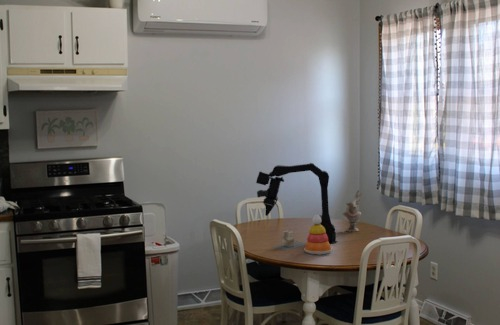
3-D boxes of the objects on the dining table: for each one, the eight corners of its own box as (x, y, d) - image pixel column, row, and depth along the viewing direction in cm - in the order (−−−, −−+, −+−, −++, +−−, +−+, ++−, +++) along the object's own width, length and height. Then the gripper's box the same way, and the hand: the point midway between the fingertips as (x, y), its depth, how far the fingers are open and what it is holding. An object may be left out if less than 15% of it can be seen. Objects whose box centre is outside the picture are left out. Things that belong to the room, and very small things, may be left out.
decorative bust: (354, 232, 324) (354, 190, 326) (340, 231, 335) (340, 190, 337) (368, 232, 330) (367, 190, 332) (354, 231, 341) (353, 190, 343)
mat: (310, 244, 300) (310, 244, 300) (285, 250, 286) (285, 250, 286) (296, 241, 307) (296, 241, 307) (271, 247, 294) (271, 247, 294)
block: (293, 246, 294) (293, 231, 294) (289, 247, 292) (289, 232, 291) (287, 245, 298) (287, 230, 297) (282, 246, 296) (282, 231, 295)
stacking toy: (337, 252, 283) (337, 214, 282) (321, 257, 273) (321, 218, 271) (314, 247, 293) (314, 211, 291) (298, 252, 282) (298, 215, 280)
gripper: (262, 182, 316) (255, 208, 317) (257, 185, 297) (251, 213, 299) (280, 187, 314) (274, 213, 316) (277, 191, 296) (270, 218, 297)
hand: (267, 214), depth 307 cm, fingers open, 9 cm apart
